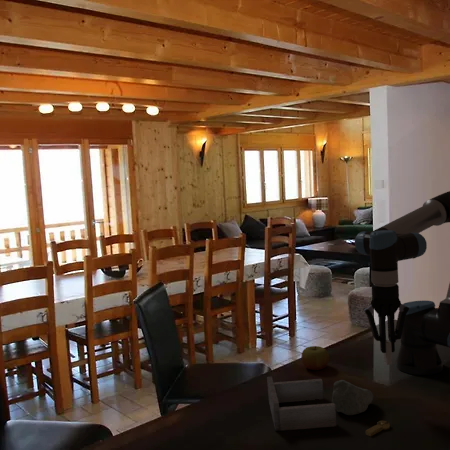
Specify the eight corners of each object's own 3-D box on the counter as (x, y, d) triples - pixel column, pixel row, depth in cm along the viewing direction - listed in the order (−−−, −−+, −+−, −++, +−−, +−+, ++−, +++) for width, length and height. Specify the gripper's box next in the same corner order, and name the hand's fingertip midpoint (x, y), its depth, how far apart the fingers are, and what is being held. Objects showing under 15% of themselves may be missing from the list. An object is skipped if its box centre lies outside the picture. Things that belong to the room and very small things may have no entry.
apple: (329, 362, 189) (328, 341, 189) (330, 373, 180) (328, 351, 179) (302, 363, 191) (301, 342, 190) (301, 373, 182) (300, 351, 181)
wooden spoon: (382, 423, 142) (382, 419, 142) (392, 427, 139) (391, 423, 139) (363, 433, 137) (363, 429, 137) (373, 438, 135) (372, 433, 135)
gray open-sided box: (322, 397, 161) (321, 372, 160) (336, 426, 142) (334, 398, 141) (268, 401, 161) (267, 376, 160) (275, 431, 142) (273, 403, 141)
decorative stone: (342, 422, 144) (362, 394, 143) (318, 396, 152) (337, 369, 151) (366, 429, 152) (386, 402, 151) (343, 404, 160) (361, 378, 159)
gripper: (402, 279, 152) (405, 357, 154) (358, 282, 152) (362, 360, 154) (412, 284, 145) (415, 365, 147) (366, 288, 145) (369, 369, 146)
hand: (388, 362), depth 150 cm, fingers closed
